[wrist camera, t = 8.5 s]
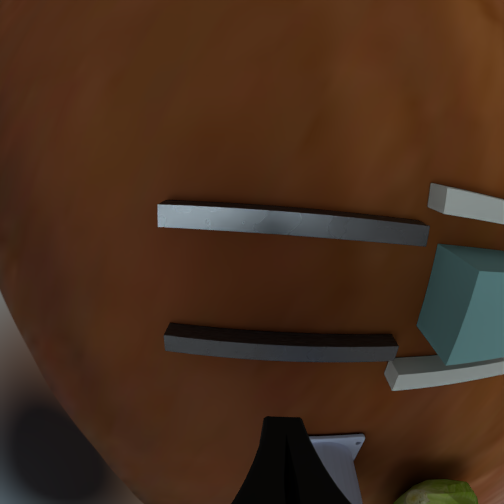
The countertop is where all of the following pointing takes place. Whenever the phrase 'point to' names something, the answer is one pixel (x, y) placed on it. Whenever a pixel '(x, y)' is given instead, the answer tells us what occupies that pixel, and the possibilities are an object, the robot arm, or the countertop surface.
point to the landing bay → (432, 367)
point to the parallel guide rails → (285, 223)
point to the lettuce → (439, 493)
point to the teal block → (465, 304)
